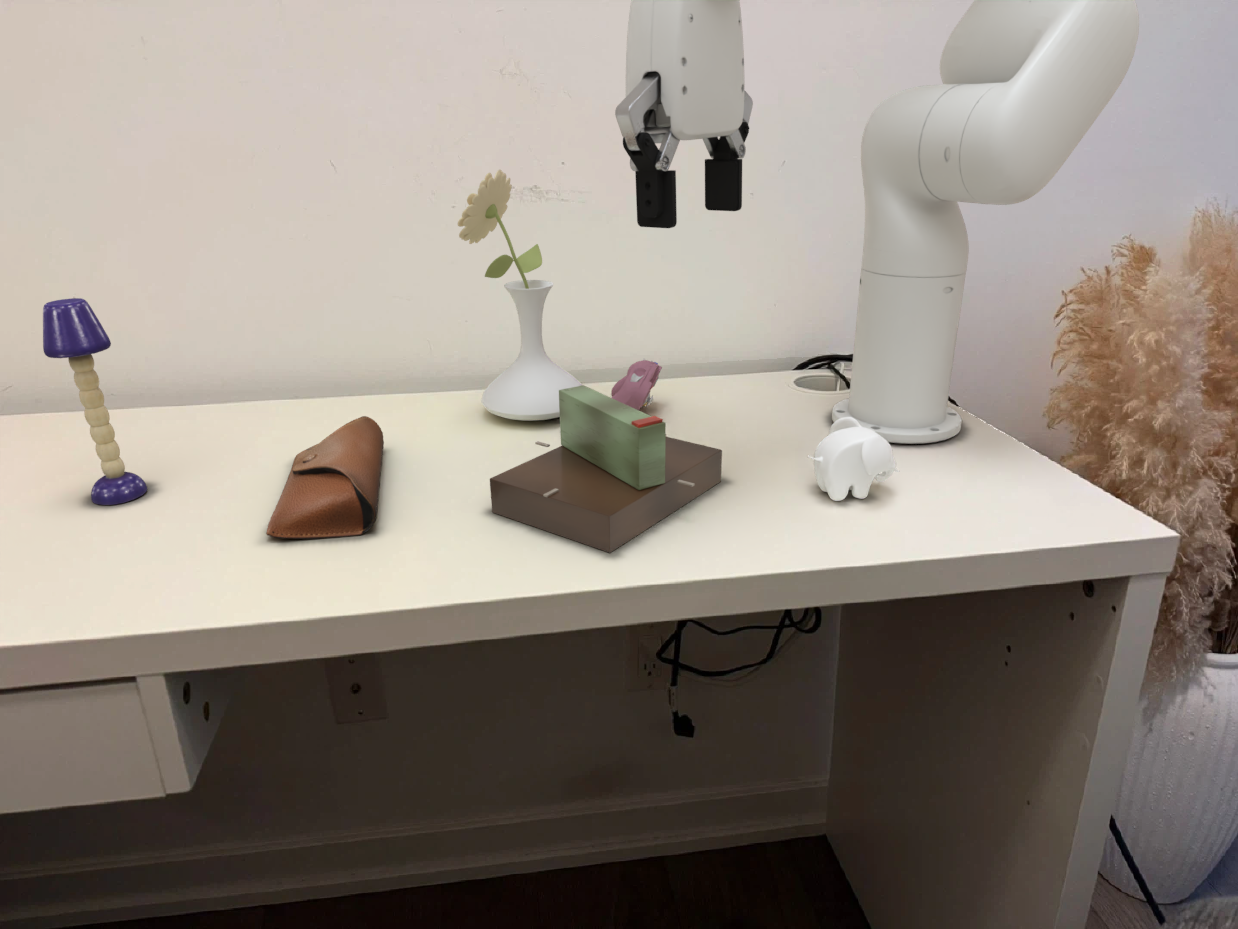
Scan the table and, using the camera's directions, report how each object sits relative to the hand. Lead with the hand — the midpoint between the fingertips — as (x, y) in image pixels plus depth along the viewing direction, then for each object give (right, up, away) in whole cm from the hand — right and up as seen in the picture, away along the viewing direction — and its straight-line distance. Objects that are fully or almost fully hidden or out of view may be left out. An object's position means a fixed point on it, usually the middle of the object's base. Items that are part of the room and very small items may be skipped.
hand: (691, 217), depth 67 cm
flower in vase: (-15, -14, +25) cm, 32 cm away
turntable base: (-6, -22, +4) cm, 23 cm away
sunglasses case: (-30, -22, +6) cm, 38 cm away
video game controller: (-4, -14, +24) cm, 28 cm away
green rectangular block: (-7, -19, +3) cm, 21 cm away
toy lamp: (-49, -22, +6) cm, 54 cm away
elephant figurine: (+14, -22, +5) cm, 26 cm away
